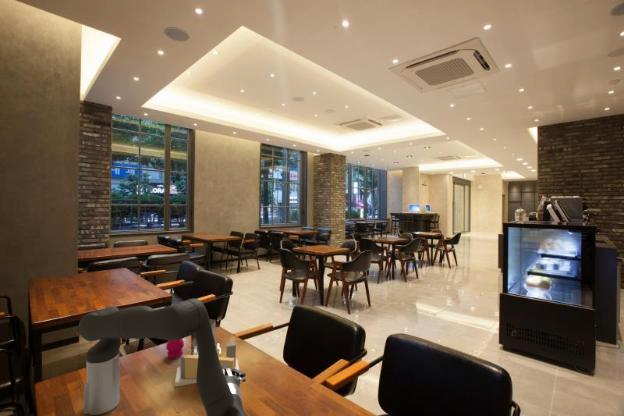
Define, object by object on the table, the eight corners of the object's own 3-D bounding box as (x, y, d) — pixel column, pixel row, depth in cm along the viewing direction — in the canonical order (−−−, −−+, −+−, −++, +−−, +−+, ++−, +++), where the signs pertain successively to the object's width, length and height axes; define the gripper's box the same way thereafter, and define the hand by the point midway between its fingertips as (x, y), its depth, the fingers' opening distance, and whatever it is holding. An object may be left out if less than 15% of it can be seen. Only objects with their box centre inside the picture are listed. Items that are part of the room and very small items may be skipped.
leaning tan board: (179, 377, 117) (179, 357, 117) (182, 374, 120) (182, 354, 119) (232, 381, 115) (232, 361, 115) (234, 377, 118) (234, 357, 117)
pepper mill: (167, 352, 140) (167, 309, 139) (184, 350, 142) (184, 308, 141) (165, 360, 133) (165, 315, 132) (182, 358, 135) (183, 313, 134)
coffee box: (190, 359, 134) (190, 323, 133) (196, 352, 140) (197, 318, 140) (209, 360, 133) (210, 324, 132) (215, 353, 139) (216, 319, 139)
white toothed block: (192, 372, 121) (192, 352, 121) (192, 365, 126) (193, 346, 126) (221, 367, 125) (221, 348, 125) (220, 361, 130) (220, 342, 130)
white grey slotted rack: (174, 386, 114) (175, 359, 114) (177, 371, 125) (177, 345, 124) (239, 375, 122) (239, 349, 122) (236, 361, 133) (237, 337, 132)
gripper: (250, 379, 92) (243, 352, 109) (204, 388, 88) (204, 359, 104) (250, 403, 92) (243, 373, 109) (204, 414, 88) (204, 380, 104)
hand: (224, 366), depth 106 cm, fingers closed
